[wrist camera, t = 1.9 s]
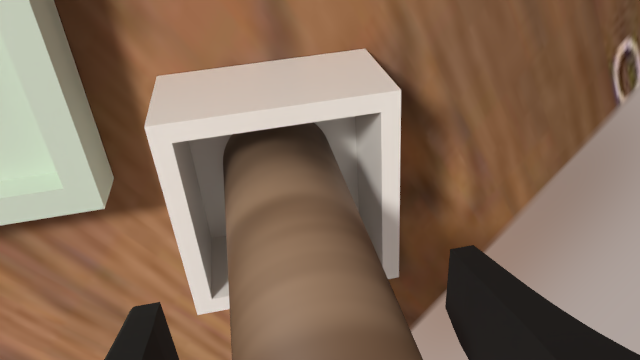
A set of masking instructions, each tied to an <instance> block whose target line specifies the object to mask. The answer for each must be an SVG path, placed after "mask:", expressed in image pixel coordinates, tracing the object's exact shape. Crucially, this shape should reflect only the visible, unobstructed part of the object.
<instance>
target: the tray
mask: <svg viewBox="0 0 640 360" xmlns="http://www.w3.org/2000/svg"><path fill="white" fill-rule="evenodd" d="M113 180H114V177H113V174H112V171H111V168H110V165H109V162H108V159H107V156H106V153H105V150H104V147H103V144H102V141H101V138H100V135H99V132H98V129H97V126H96V123H95V121H94V118H93V115H92V112H91V109H90V106H89V103H88V100H87V97H86V94H85V91H84V88H83V85H82V82H81V79H80V76H79V73H78V70H77V67H76V64H75V61H74V59H73V56H72V53H71V50H70V47H69V44H68V41H67V38H66V35H65V32H64V29H63V26H62V23H61V20H60V17H59V14H58V11H57V8H56V5H55V2H54V0H0V225H6V224H13V223H19V222H25V221H31V220H38V219H44V218H50V217H56V216H63V215H69V214H75V213H81V212H88V211H94V210H100V209H105V206H106V203H107V200H108V197H109V193H110V190H111V187H112V183H113Z"/></svg>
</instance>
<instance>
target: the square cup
mask: <svg viewBox="0 0 640 360" xmlns="http://www.w3.org/2000/svg"><path fill="white" fill-rule="evenodd" d="M312 122H314V123H315V124H316V125H317V126H318V127H319V128H320V129H321V130H322V131H323V133H324V134H325V136H326V138H327V140H328V143H329V145H330V147H331V149H332V152H333V154H334V156H335V159H336V161H337V163H338V166H339V168H340V170H341V172H342V175H343V177H344V179H345V182H346V184H347V186H348V189H349V191H350V193H351V195H352V198H353V200H354V202H355V205H356V207H357V209H358V212H359V214H360V216H361V218H362V221H363V223H364V225H365V228H366V230H367V232H368V235H369V237H370V239H371V241H372V244H373V246H374V248H375V251H376V253H377V255H378V258H379V260H380V262H381V265H382V267H383V269H384V271H385V274H386V276H387V278H388V279H392V278H397V277H399V226H400V146H401V89H400V88H399V87H398V86H397V85H396V84H395V82H394V81H393V80H392V79H391V78H390V77H389V75H388V74H387V73H386V72H385V71H384V70H383V69H382V67H381V66H380V65H379V64H378V63H377V62H376V61H375V59H374V58H373V57H372V56H371V55H370V54H369V52H368V51H367V50H366V49H359V50H351V51H344V52H336V53H329V54H321V55H314V56H306V57H298V58H291V59H283V60H276V61H268V62H260V63H253V64H245V65H238V66H230V67H223V68H215V69H207V70H200V71H192V72H185V73H177V74H169V75H162V76H157V78H156V82H155V86H154V90H153V94H152V98H151V102H150V106H149V110H148V114H147V118H146V122H145V126H144V128H145V131H146V135H147V138H148V142H149V145H150V149H151V152H152V156H153V159H154V163H155V166H156V170H157V174H158V177H159V181H160V184H161V188H162V191H163V195H164V198H165V202H166V205H167V209H168V212H169V216H170V219H171V223H172V226H173V230H174V233H175V237H176V240H177V244H178V248H179V251H180V255H181V258H182V262H183V265H184V269H185V272H186V276H187V279H188V283H189V286H190V290H191V293H192V297H193V300H194V304H195V307H196V311H197V314H198V315H200V314H205V313H211V312H216V311H221V310H227V309H230V305H229V283H228V262H227V240H226V218H225V197H224V175H223V155H224V150H225V147H226V144H227V142H228V140H229V138H230V137H231V135H232V134H237V133H244V132H251V131H258V130H264V129H271V128H278V127H285V126H292V125H298V124H305V123H312Z"/></svg>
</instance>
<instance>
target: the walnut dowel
mask: <svg viewBox="0 0 640 360" xmlns="http://www.w3.org/2000/svg"><path fill="white" fill-rule="evenodd" d="M223 175H224V197H225V218H226V240H227V262H228V283H229V305H230V326H231V348H232V360H423V359H422V357H421V354H420V352H419V350H418V347H417V345H416V343H415V340H414V338H413V336H412V334H411V331H410V329H409V327H408V324H407V322H406V320H405V317H404V315H403V313H402V311H401V308H400V306H399V304H398V301H397V299H396V297H395V294H394V292H393V290H392V288H391V285H390V283H389V281H388V278H387V276H386V274H385V271H384V269H383V267H382V265H381V262H380V260H379V258H378V255H377V253H376V251H375V248H374V246H373V244H372V241H371V239H370V237H369V235H368V232H367V230H366V228H365V225H364V223H363V221H362V218H361V216H360V214H359V212H358V209H357V207H356V205H355V202H354V200H353V198H352V195H351V193H350V191H349V189H348V186H347V184H346V182H345V179H344V177H343V175H342V172H341V170H340V168H339V166H338V163H337V161H336V159H335V156H334V154H333V152H332V149H331V147H330V145H329V143H328V140H327V138H326V136H325V134H324V133H323V131H322V130H321V129H320V128H319V127H318V126H317V125H316V124H315V123H314V122H312V123H305V124H298V125H292V126H285V127H278V128H271V129H264V130H258V131H251V132H244V133H237V134H232V135H231V137H230V138H229V140H228V142H227V144H226V147H225V150H224V155H223Z"/></svg>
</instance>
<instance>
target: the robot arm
mask: <svg viewBox="0 0 640 360" xmlns="http://www.w3.org/2000/svg"><path fill="white" fill-rule="evenodd" d="M446 310H447V312H448V315H449V318H450V320H451V323H452V325H453V328H454V330H455V332H456V335H457V337H458V340H459V342H460V344H461V346H462V348H463V350H464V352H465V353H466V355H467V357H468V359H469V360H640V355H639V354H636V353H635V352H632V351H631V350H629V349H627V348H625V347H623V346H622V345H620V344H618V343H616V342H614V341H613V340H611V339H609V338H607V337H605V336H604V335H602V334H600V333H598V332H596V331H595V330H593V329H591V328H590V327H588V326H587V325H585V324H583V323H582V322H580V321H579V320H577V319H575V318H574V317H572V316H571V315H569V314H568V313H566V312H564V311H563V310H561V309H560V308H558V307H557V306H555V305H554V304H552V303H551V302H549V301H548V300H546V299H545V298H544V297H542V296H541V295H539V294H538V293H536V292H535V291H534V290H532V289H531V288H530V287H528V286H527V285H525V284H524V283H523V282H521V281H520V280H519V279H517V278H516V277H515V276H513V275H512V274H511V273H509V272H508V271H507V270H505V269H504V268H503V267H501V266H500V265H499V264H497V263H496V262H495V261H493V260H492V259H491V258H489V257H488V256H487V255H486V254H484V253H483V252H482V251H480V250H479V249H478V248H476V247H475V246H474V245H472V246H466V247H461V248H455V249H450V259H449V271H448V283H447V295H446ZM104 360H179V358H178V355H177V352H176V349H175V346H174V343H173V340H172V337H171V334H170V331H169V328H168V325H167V322H166V319H165V316H164V313H163V310H162V307H161V304H160V302H157V303H152V304H146V305H141V306H135V307H133V308H132V309H131V311H130V312H129V314H128V316H127V318H126V320H125V322H124V324H123V326H122V328H121V330H120V332H119V334H118V335H117V337H116V339H115V341H114V343H113V345H112V347H111V348H110V350H109V352H108V354H107V356H106V358H105V359H104Z"/></svg>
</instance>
